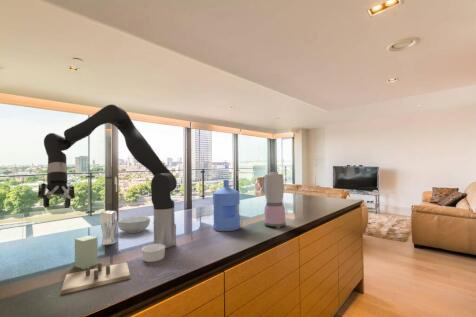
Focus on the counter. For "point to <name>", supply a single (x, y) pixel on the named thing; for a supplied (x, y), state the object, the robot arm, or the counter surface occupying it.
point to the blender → (274, 199)
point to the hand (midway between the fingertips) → (57, 207)
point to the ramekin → (153, 252)
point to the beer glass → (108, 227)
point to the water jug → (226, 208)
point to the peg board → (95, 277)
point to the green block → (86, 251)
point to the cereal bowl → (133, 224)
